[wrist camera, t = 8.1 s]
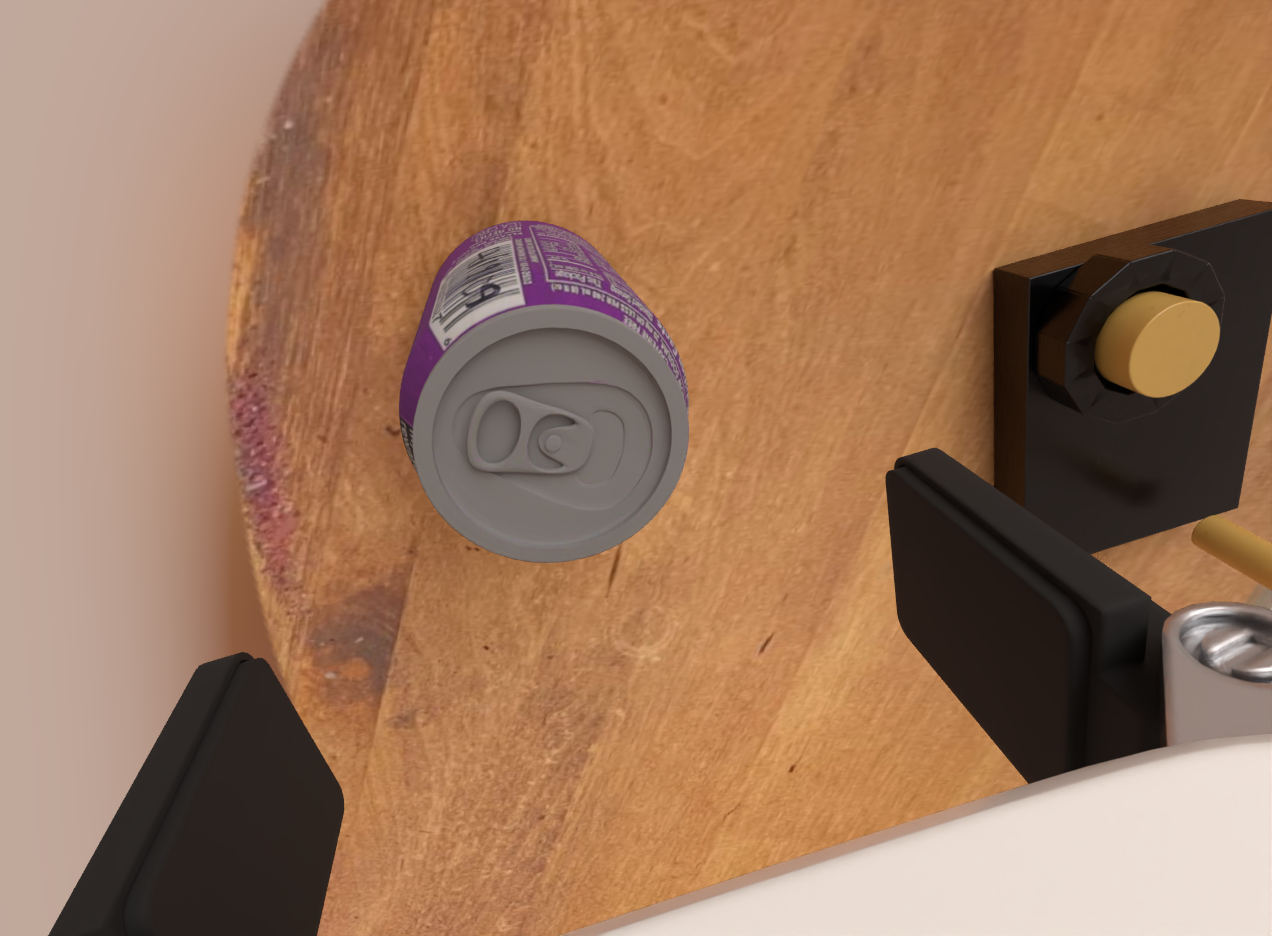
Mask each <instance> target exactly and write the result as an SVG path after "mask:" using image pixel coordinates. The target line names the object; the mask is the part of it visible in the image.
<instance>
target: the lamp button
mask: <svg viewBox="0 0 1272 936" xmlns="http://www.w3.org/2000/svg"><path fill="white" fill-rule="evenodd" d="M1219 336H1220V326H1219V321H1218V318H1217V315H1216V314H1215V312H1214V311H1213V310H1212V309H1211V308H1210V307H1209V306H1208V305H1206V304H1205V303H1202V302H1199V301H1195V300H1191V299H1187V298H1183V297H1179V296H1175V295H1171V294H1167V293H1163V292H1158V291H1149V292H1144V293H1140V294H1137V295H1135V296H1133V297H1131V298H1129V299H1127V300H1126V301H1124V302H1123V303H1122V304H1120V305H1119V306H1118V307H1117V308H1116V309H1115V310H1114V311H1113V312H1112V313H1111V314H1110V315H1109V317H1108V318H1107V320H1106V322H1105V324H1104V326H1103V328H1102V330H1101V332H1100V333H1099V335H1098V337H1097V339H1096V344H1095V351H1094V358H1095V363H1096V367H1097V369H1098V371H1099V372H1100V374H1101V375H1102V376H1103V377H1104V378H1105V379H1107V380H1108V381H1110V382H1112V383H1115V384H1117V385H1120V386H1122V387H1125V388H1127V389H1130V390H1132V391H1134V392H1137V393H1139V394H1142V395H1144V396H1147V397H1152V398H1160V397H1166V396H1170V395H1173V394H1176V393H1178V392H1180V391H1182V390H1183V389H1185V388H1186V387H1188V386H1189V385H1190V384H1192V383H1193V382H1194V381H1195V380H1196V379H1197V378H1198V377H1199V376H1200V375H1201V374H1202V373H1203V372H1204V370H1205V369H1206V368H1207V366H1208V365H1209V363H1210V362H1211V360H1212V358H1213V356H1214V354H1215V352H1216V349H1217V346H1218V342H1219Z"/></svg>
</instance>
